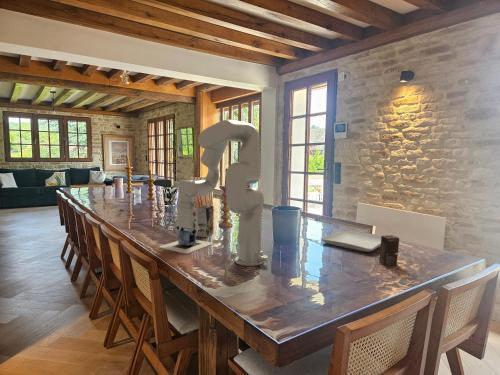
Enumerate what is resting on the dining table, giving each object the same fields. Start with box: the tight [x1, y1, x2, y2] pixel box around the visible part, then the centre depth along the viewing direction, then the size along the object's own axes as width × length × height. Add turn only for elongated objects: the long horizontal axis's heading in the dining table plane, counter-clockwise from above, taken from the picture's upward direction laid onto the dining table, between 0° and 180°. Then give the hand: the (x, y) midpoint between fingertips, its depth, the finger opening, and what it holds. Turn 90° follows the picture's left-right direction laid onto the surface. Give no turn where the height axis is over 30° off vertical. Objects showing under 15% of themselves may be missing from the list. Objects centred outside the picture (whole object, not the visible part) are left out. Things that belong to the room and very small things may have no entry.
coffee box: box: [196, 205, 215, 238], centre depth 183 cm, size 9×6×16 cm
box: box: [378, 235, 400, 266], centre depth 139 cm, size 6×4×12 cm
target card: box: [158, 239, 215, 255], centre depth 162 cm, size 18×20×1 cm
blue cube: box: [177, 228, 197, 246], centre depth 162 cm, size 6×6×6 cm
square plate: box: [320, 230, 382, 253], centre depth 170 cm, size 27×27×4 cm
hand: (187, 240), depth 162 cm, fingers closed on blue cube, 5 cm apart
